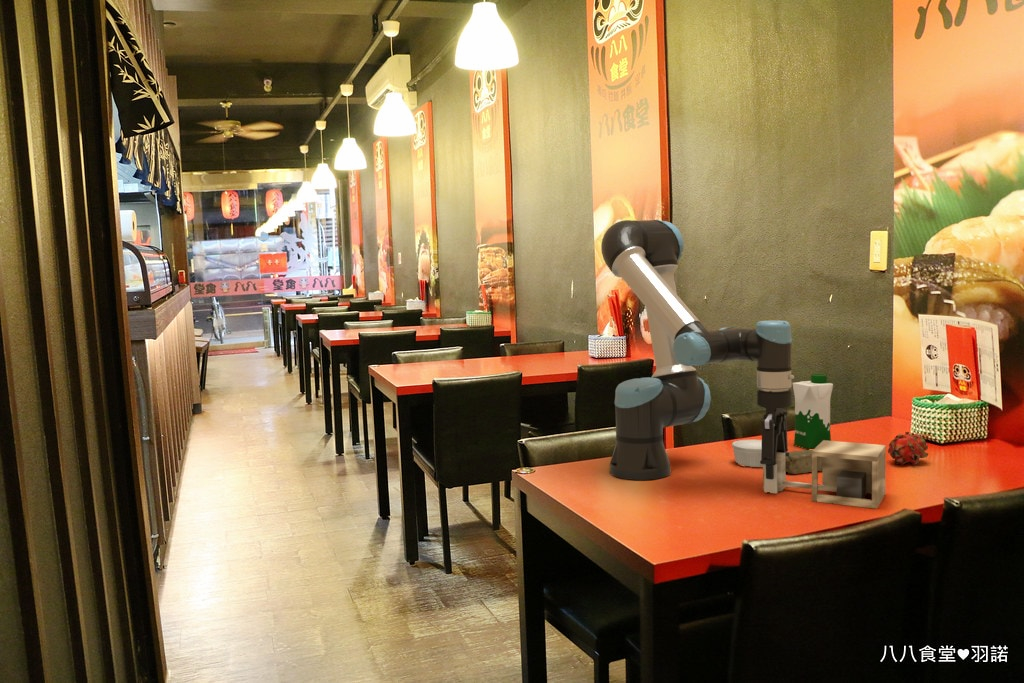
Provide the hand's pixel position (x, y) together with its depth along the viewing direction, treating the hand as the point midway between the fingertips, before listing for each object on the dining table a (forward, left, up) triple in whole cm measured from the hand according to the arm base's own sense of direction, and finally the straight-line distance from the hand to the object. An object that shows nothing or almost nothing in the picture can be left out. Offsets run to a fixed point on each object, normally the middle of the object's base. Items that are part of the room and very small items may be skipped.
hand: (775, 488), depth 186 cm
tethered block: (+8, 0, 0) cm, 8 cm away
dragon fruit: (+23, +37, -1) cm, 44 cm away
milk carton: (-2, +47, -1) cm, 47 cm away
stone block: (+2, +19, -1) cm, 20 cm away
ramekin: (-11, +22, -1) cm, 25 cm away
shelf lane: (+15, 0, 0) cm, 15 cm away
